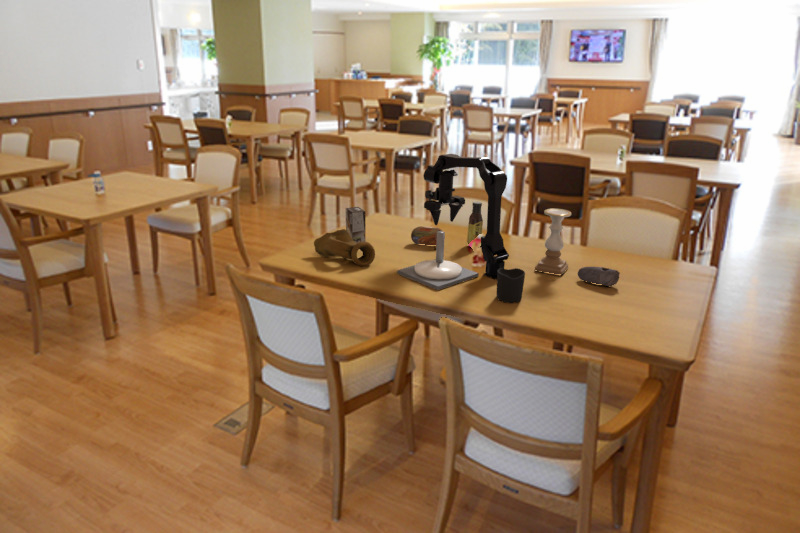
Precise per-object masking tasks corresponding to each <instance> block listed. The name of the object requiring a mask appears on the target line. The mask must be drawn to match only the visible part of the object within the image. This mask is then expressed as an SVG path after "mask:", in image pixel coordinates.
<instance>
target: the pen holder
mask: <svg viewBox="0 0 800 533" xmlns="http://www.w3.org/2000/svg"><path fill="white" fill-rule="evenodd" d="M525 276H526V272H525V270H523V269H521V268H510V269H508V268H507V269H506V268H504V269H503V268H500V269H498V270H497V279H496V298H497V300H498V299H499V301H500V302H502V301H503V303H506V302H509V303H508V304H514V303H513V302H516V303H519V302H520V301H522V298H523V291H524V284H525ZM518 301H519V302H518Z"/></svg>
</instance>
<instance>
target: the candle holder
mask: <svg viewBox="0 0 800 533" xmlns="http://www.w3.org/2000/svg"><path fill="white" fill-rule="evenodd" d="M543 214H544V215H547V216H549V217H550V219H551V224H550V225H549V227H548V229H550V230H549V231H550V234H549V236H548V237H547V238H546V240H545V242H544V247H545V248H546V250H545V253H544V254H545V256H543V257H542V258H541V259H540V260H539V261H538V263H536V265H535V267H534V271H535V270H537V271H542V272H549V273H554V274H561V275H562V274H563V273H564V272H565V270H566V269H567V268H568V269H569V264H568V263H567V260H565V259H562V258H561V257H562V256H561V255H562V252H561V251H562V250H563V249H564V247H565V246H564V245H565V244H564V241H563V239H562V236H561V231H562V230H563V229H564V227H563V225H562V222H563V221H564V219H565V218H568V217H571V216H572V212H571V211H570V210H568V209H563V208H547V209H545V210H544V213H543ZM568 269H567V270H568ZM565 273H566V272H565ZM565 273H564V274H565ZM564 274H563V275H564ZM563 275H562V276H563Z"/></svg>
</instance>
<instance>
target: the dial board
mask: <svg viewBox="0 0 800 533" xmlns="http://www.w3.org/2000/svg"><path fill="white" fill-rule="evenodd" d="M434 260H436V258H435V259H434ZM415 265H416V264H414V265H410V266H407V267H403V268H400V269H397V270H396V272H397V275H399V274H400V275H399V276H402V277H404V278H406V279H409V280H411V279H412V281H414V282H416V281H417V283H419V284H421V285H424V286H426V287H429V288H431V289H434V290H436V291H440V289H441V290H444V289H446V287H447V288H449V286H450V287H452V285H453V286H455V285H454V284H456V285H458V284H457V283H459V284H461V283H460V282H462V283H464V282H463V281H465V282H467V281H466V280H468V281H470V280H469V279H471V280H473V279H472V278H474V279H476V278H475V277H477V278H479V272H476V271H474V270H471V269H468V268H465V267H462V266H461V268H462V273H461V275H460V276H458V277H456V278H452V279H442V280H439V279H429V278H425V277H422V276H419V275H417V274H416V273H415ZM443 288H444V289H443Z"/></svg>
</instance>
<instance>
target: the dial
mask: <svg viewBox="0 0 800 533" xmlns="http://www.w3.org/2000/svg"><path fill="white" fill-rule="evenodd" d="M444 239H446V233H445V231H444V230H442V231H438V232H437V245H436V247H435V249H436V250H435V259H436V260H435V259H426V260H423V261H419V262H417V263H416V264H414V265H415V273H416V274H417V275H419V276H422V277H425V278H429V279H439V280H442V279H452V278H456V277H458V276H460V275H461V273H462V268H461V267H462V266H461V265H460V264H459V263H456V262H454V261H450V260H445V259H444V258H445V257H444V255H445V240H444Z"/></svg>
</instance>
